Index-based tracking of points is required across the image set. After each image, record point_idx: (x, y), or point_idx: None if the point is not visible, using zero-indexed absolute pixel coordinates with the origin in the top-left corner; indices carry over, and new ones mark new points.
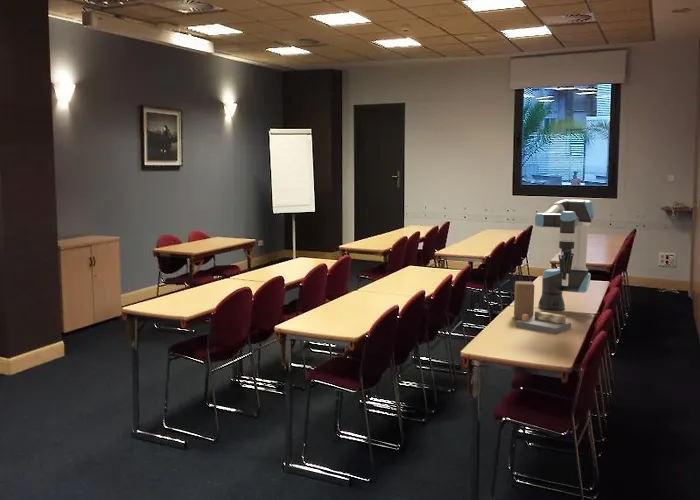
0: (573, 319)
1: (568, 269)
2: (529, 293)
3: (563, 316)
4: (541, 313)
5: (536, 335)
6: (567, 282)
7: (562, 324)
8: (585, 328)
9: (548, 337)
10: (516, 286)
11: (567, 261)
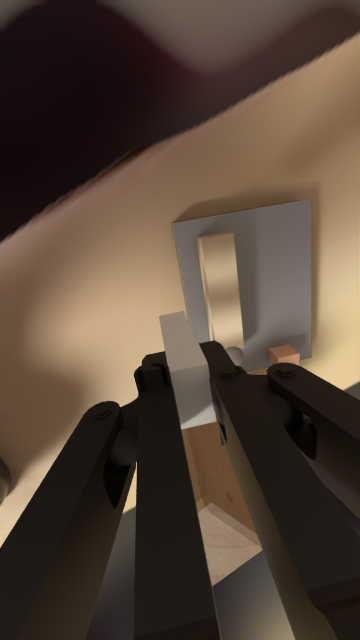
0: (33, 316)
1: (171, 412)
2: (216, 467)
3: (224, 235)
4: (242, 332)
5: (356, 232)
6: (172, 324)
7: (230, 226)
8: (118, 184)
9: (354, 186)
10: None
11: (302, 573)
